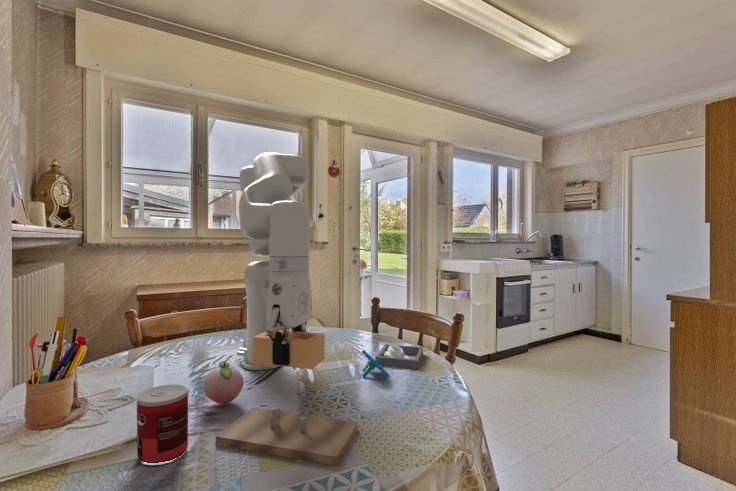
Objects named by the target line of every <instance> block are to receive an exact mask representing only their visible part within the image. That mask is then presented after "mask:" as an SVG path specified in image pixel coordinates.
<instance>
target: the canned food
mask: <svg viewBox="0 0 736 491" xmlns="http://www.w3.org/2000/svg"><path fill="white" fill-rule="evenodd" d="M188 392H189V391H188V388H187V387H186V386H185V385H182V384H181V385H180V384H166V385H165V384H164V385H163V384H162V385H158V386H154V387H152V388H148V389H146V390H144V391H142V392H141V393H140V394H138V396H137V399H136V437H137V438H136V439H137V441H136V442H137V443H136V444H137V445H136V448H137V449H136V450H137V451H136V452H137V453H136V454H137V455H136V456H137V459H138V458H139V459H138V461H139V460H141V461H143V462H147V463H159V462H165V461H170V460H173V459H175V458H178V457H179V456H181V455H182V454H183V453H184V452H185V451H186V452H187V448H188V445H189V397H188V396H189V394H188ZM186 452H185V453H186ZM185 453H184V454H185ZM184 454H183V455H184ZM183 455H182V456H183ZM182 456H181V457H182ZM178 459H179V458H178Z"/></svg>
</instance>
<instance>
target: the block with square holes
mask: <svg viewBox="0 0 736 491" xmlns="http://www.w3.org/2000/svg"><path fill="white" fill-rule="evenodd" d="M278 332H280V333H281V334H282V336H283V332H284V330H278ZM325 340H326V338H325V333H323V332H322V333H321V332H309V331H306V332H297V331H291V330H289V335H288V341H287V343H289V356H290V363H289V365H288V366H282V365H274V364H273V362H272V343H271V339H270V337H269V334H268V333H267V332H264V333H261V334H259V335H257V336H255V337H253V341H254V363H255V364H264V365H274V366H279V367H287V368H295V369H296V368H297V369H306V370H314V369H315V368H316V367H317V366H318V365H319V364H320V363H321V362H323V361H324V360H325V359H326V358H325V356H326V355H325V354H326V352H325V351H326V350H325V344H326V343H325Z"/></svg>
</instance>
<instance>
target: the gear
mask: <svg viewBox="0 0 736 491" xmlns="http://www.w3.org/2000/svg"><path fill="white" fill-rule="evenodd" d="M361 353H362V354H363V356H364V357H365V358H366V359H367V360H368V361H366V365H365V366H364V367H363V368H362V370H361V371H362V372H363V374H362V375H361V376H362V377H363V378H364V379H366V377H367V376H368V375H369V374H370V373H371V371H374V369H375V368H377V370H379V371H380V373H382V375H384V376H385V377H386V378H388V377H389V376H390V373H388V372H387V371H386V370H385V368H384V367H383V366H380V365H379V363H378V362H379V361H378V360H377V359H376V360H375V358H374V357H373V356H371V355H370V354H369V353H368V352H367V351H366V350H365V349H362V351H361Z"/></svg>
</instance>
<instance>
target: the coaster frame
mask: <svg viewBox="0 0 736 491" xmlns="http://www.w3.org/2000/svg"><path fill="white" fill-rule="evenodd" d="M390 345H391V344H388V343H385V344H384V345H383V346H382V348H380V350H379V352H377V354H376V355H375V357H374V359H375V360H376V359H377V360H378V361H379V362H378V363H379V365H380V366H381V367H389V368H390V367H392V368H401V369H413V370H419V367H420V365H421V361H422V358H423V356H424V347H423V346H416V345H415V346H413V345H402V344H401V345H400V344H395V345H396V346H398V347H400V348H402V350H403V352H404V354H405V355H411V354H413V356H415V358H406V357H405V358H394V357H383V356H384V354H385V352H387V351H388V348H389V346H390Z"/></svg>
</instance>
